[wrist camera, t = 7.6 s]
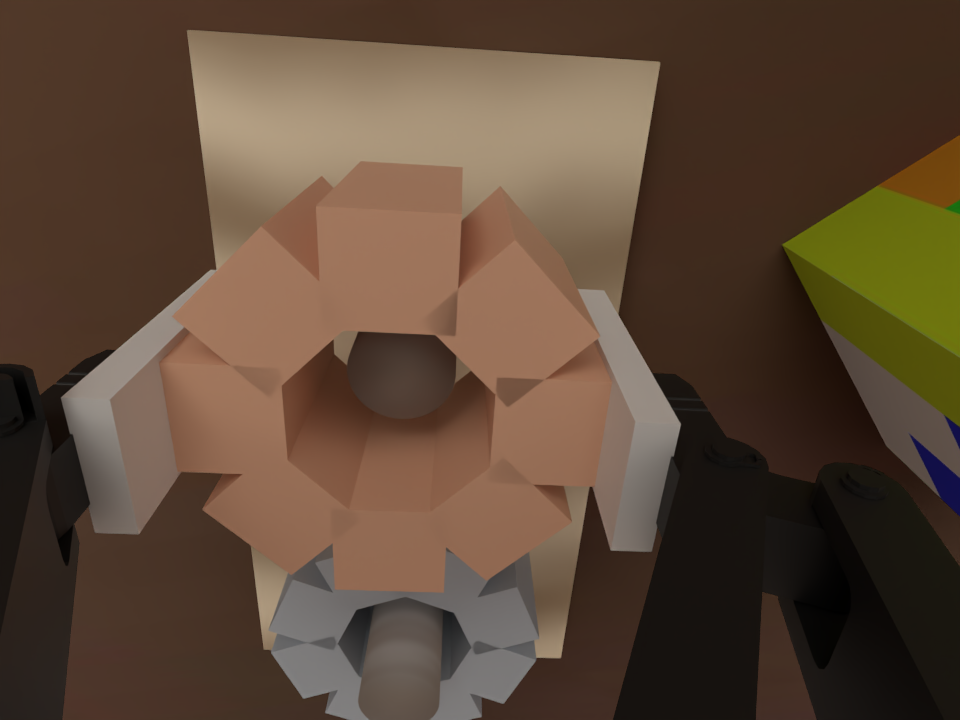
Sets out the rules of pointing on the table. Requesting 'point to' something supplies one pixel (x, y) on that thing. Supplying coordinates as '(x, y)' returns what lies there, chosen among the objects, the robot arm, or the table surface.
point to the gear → (465, 639)
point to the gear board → (486, 166)
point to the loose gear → (359, 430)
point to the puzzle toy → (898, 309)
